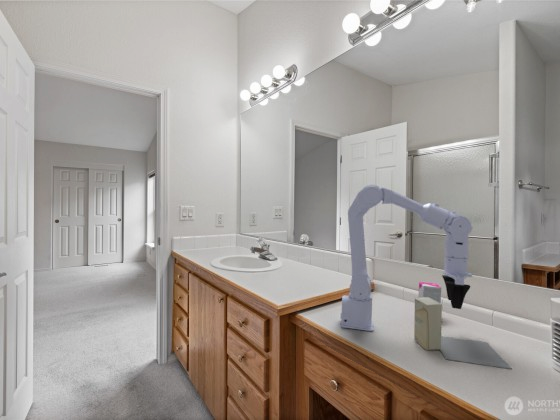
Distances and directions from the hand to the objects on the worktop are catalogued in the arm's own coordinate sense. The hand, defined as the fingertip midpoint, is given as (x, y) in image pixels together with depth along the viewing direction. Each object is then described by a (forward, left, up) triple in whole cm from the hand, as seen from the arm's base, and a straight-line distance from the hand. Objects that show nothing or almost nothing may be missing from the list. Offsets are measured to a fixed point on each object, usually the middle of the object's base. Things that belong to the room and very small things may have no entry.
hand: (454, 304), depth 84 cm
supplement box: (-3, +16, -10) cm, 19 cm away
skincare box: (-8, -7, -10) cm, 15 cm away
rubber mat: (+1, -7, -10) cm, 12 cm away
